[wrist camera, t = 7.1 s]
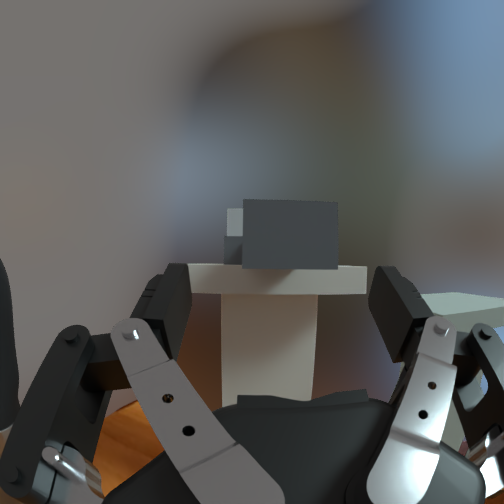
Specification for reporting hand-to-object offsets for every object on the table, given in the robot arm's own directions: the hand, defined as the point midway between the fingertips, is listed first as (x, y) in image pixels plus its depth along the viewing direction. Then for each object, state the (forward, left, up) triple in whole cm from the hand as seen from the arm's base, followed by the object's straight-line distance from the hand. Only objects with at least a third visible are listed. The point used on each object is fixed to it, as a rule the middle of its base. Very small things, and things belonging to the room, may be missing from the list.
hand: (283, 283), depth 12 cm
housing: (-2, +10, +1) cm, 10 cm away
